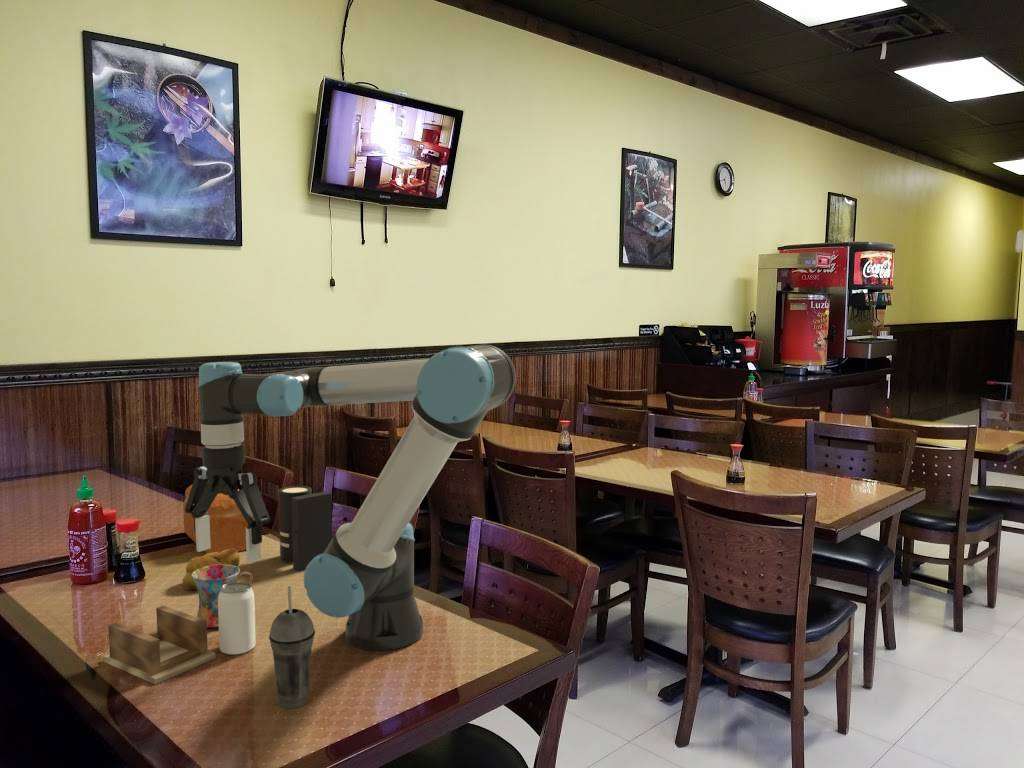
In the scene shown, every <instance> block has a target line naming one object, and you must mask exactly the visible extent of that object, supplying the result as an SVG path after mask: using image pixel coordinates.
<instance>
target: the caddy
mask: <svg viewBox="0 0 1024 768" xmlns="http://www.w3.org/2000/svg"><path fill="white" fill-rule="evenodd" d="M155 612H156V629H157V630H156V631H157V633H154V634H152V635H149V634H147V633H145V632H142V631H140V630H136V629H135V628H132V627H129V626H127V625H124V624H121V623H119V622H113V623H110V624H108V626H107V629H108V630H107V631H108V647H109V648H108V650H109V652H108V653H107V654H103V655H102V662H104V663H106V664H107V665H110V666H112V667H115V668H116V669H117V668H118V669H119V670H122V671H124V672H127V673H129V674H131V675H133V676H135V677H138V678H139V679H142V680H144V681H146V682H149V683H151V684H153V685H158V684H161V683H163V682H165V681H166V680H169V679H171V678H174V677H176V676H179V675H180V674H183V673H185V672H187V671H189V670H192V669H194V668H196V667H199V666H202V665H203V664H205V663H208V662H210V661H212V660H214V659H216V652H213V651H211V650H209V649H208V627H207V621H206V620H203V619H200V618H197V617H196V616H195V615H191V614H188V613H185V612H183V611H180V610H177V609H174V608H172V607H168V606H165V605H160V606H158V607H156V611H155Z"/></svg>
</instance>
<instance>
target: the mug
mask: <svg viewBox="0 0 1024 768" xmlns="http://www.w3.org/2000/svg"><path fill="white" fill-rule="evenodd" d="M243 575H248V576H249V582H248V583H250V584H251V585H252V583H253V580H254V579H253V575H252V574H251V573H250V572H249V571H243V572H241V569H240V567H239V566H238V567H237V566H234V565H227V564H220V565H211V566H206V567H202V568H199V569H197V570H195V571H194V572H193V573H192V574H191V577H192V579H193V581H194V583H195V585H196V587H197V589H196V591H197V595H198V610H197V615H196V616H195V617H197V618H200V619H203V620H206V621H207V628H210V629H211V628H219V618H218V596H219V593H220V588H221V587H222V586H223V585H226V584H229V583H233V582H238V580H239V579H240V577H242V576H243Z"/></svg>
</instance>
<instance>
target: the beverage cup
mask: <svg viewBox="0 0 1024 768" xmlns="http://www.w3.org/2000/svg"><path fill="white" fill-rule="evenodd" d="M291 587H292V586H290V585H288V586H287V599H288V600H287V602H288V609H285V610H283V611H281V612H280V613H279V614H278V615H277V616H276V617H275V618H274V619H273V621H272V623H271V626H270V630H269V635H268V639H269V643H270V647H271V650H272V656H273V665H274V673H275V682H276V690H277V692H276V693H277V696H278V701H279V702H278V703H279V706H280V707H282V708H284V709H297V708H300V707H302V706H304V705H306V704H307V702H308V700H309V697H308V696H309V690H310V677H311V676H310V674H311V661H312V648H313V644H314V638H315V635H316V631H315V627H314V622H313V621H312V618H311V617H310V616H309V614H308V613H307V612H305V611H303V610H302V609H299V608H293V602H292V588H291Z"/></svg>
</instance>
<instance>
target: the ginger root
mask: <svg viewBox="0 0 1024 768" xmlns="http://www.w3.org/2000/svg"><path fill="white" fill-rule="evenodd" d="M240 562H241V559H240V555H239V552H238V551H237V550H236V549H228V550H224V551H221V552H220V553H218V552H213V553H206V554H204V555H203V556H195V557H193V558H191V559H190V560H189V562H188V563H187V564H186V567H185V570H186V573H185V575H183V577H182V586H183V587H184V588H185V589H187V590H197V587H196V585H195V583H194V581H193V579H192V577H191V574H192V573H193V572H194V571H195V570H197V569H199V568H202V567H206V566H211V565H220V564H227V565H234V566H237V567H238V568H239V566H240Z"/></svg>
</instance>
